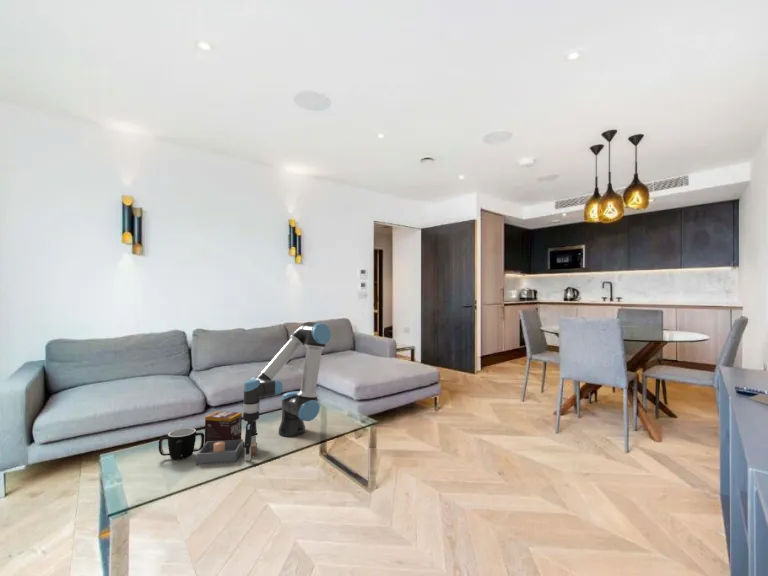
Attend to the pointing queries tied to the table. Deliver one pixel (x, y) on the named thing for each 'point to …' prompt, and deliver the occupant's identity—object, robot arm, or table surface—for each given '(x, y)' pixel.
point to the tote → (229, 456)
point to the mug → (181, 443)
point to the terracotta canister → (219, 447)
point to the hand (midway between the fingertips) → (250, 454)
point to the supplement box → (223, 426)
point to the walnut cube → (253, 449)
